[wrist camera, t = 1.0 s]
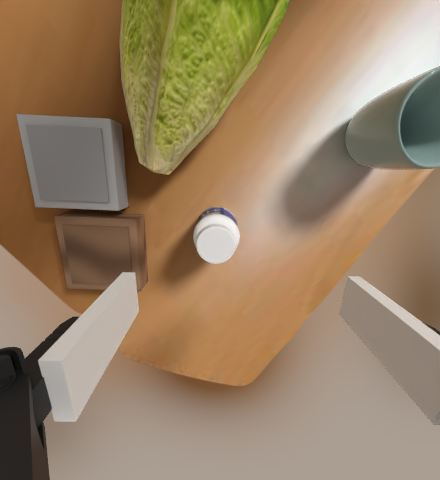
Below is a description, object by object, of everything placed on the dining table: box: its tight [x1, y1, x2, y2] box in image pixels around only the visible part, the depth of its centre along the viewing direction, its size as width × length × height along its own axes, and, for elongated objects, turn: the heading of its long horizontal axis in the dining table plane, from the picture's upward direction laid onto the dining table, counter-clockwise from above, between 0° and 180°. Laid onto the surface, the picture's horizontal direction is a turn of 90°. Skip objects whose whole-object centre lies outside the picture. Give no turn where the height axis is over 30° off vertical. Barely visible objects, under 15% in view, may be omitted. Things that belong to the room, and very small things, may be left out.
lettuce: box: [119, 0, 290, 175], centre depth 21 cm, size 12×24×13 cm
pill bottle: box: [193, 206, 240, 264], centre depth 26 cm, size 5×5×9 cm
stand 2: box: [54, 212, 148, 291], centre depth 30 cm, size 10×10×3 cm
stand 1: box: [16, 114, 129, 211], centre depth 27 cm, size 10×10×3 cm
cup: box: [345, 66, 440, 170], centre depth 22 cm, size 8×8×10 cm
